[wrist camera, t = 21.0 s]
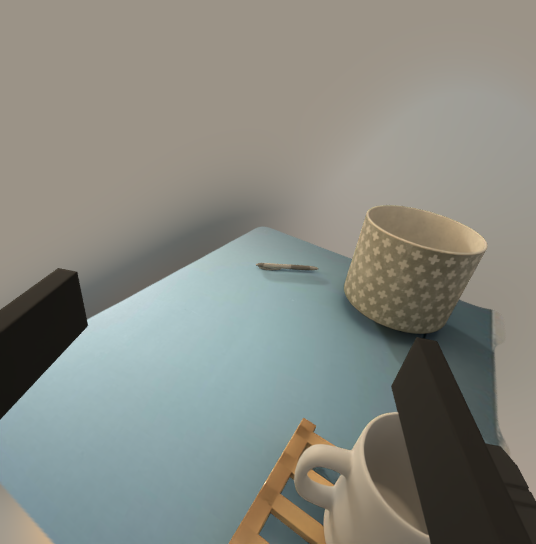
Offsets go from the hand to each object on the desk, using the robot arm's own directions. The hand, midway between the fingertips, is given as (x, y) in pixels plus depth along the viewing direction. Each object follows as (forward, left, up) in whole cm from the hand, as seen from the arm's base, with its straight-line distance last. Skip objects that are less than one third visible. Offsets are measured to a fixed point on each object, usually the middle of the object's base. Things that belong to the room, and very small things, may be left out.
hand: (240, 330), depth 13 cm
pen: (-7, +51, -27) cm, 58 cm away
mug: (+10, +5, -23) cm, 26 cm away
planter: (+15, +46, -27) cm, 56 cm away
